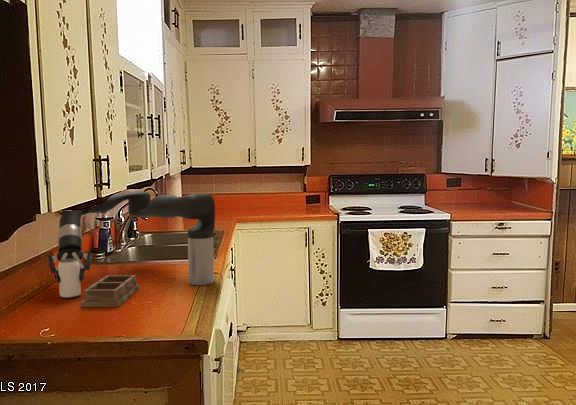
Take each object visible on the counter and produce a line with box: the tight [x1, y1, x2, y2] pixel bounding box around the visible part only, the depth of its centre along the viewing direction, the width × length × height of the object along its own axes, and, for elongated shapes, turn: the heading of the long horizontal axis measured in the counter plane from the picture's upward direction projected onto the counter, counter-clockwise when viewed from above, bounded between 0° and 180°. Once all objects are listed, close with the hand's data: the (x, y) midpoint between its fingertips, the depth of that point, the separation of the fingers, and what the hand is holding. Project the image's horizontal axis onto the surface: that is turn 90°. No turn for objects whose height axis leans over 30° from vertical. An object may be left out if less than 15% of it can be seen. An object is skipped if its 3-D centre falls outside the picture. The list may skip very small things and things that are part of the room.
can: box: [57, 259, 82, 299], centre depth 162 cm, size 6×6×12 cm
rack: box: [80, 274, 140, 308], centre depth 162 cm, size 21×12×5 cm, turn 1°
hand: (70, 280), depth 161 cm, fingers closed on can, 6 cm apart
